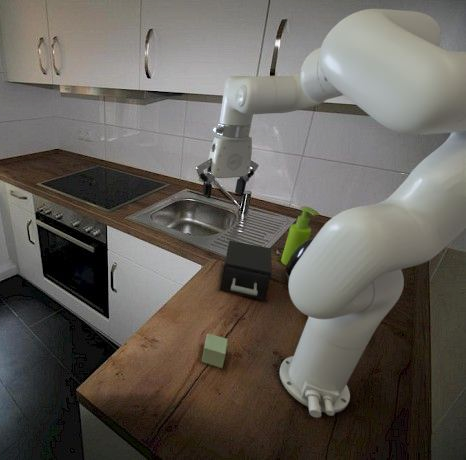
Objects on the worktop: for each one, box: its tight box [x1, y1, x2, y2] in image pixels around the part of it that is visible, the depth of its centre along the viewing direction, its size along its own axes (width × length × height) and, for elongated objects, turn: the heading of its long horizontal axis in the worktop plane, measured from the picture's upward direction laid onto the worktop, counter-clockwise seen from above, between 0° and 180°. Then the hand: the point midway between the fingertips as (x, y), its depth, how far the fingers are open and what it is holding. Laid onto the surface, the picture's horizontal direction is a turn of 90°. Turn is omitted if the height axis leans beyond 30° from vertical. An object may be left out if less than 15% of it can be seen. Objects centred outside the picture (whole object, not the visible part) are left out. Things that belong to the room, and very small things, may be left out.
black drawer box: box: [219, 240, 273, 301], centre depth 93 cm, size 14×12×10 cm
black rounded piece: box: [285, 238, 314, 281], centre depth 91 cm, size 10×10×15 cm
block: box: [201, 332, 229, 369], centre depth 70 cm, size 4×4×4 cm
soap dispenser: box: [280, 205, 320, 267], centre depth 100 cm, size 6×7×20 cm
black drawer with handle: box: [221, 266, 269, 301], centre depth 90 cm, size 17×11×8 cm, turn 158°
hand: (222, 195), depth 86 cm, fingers open, 9 cm apart
